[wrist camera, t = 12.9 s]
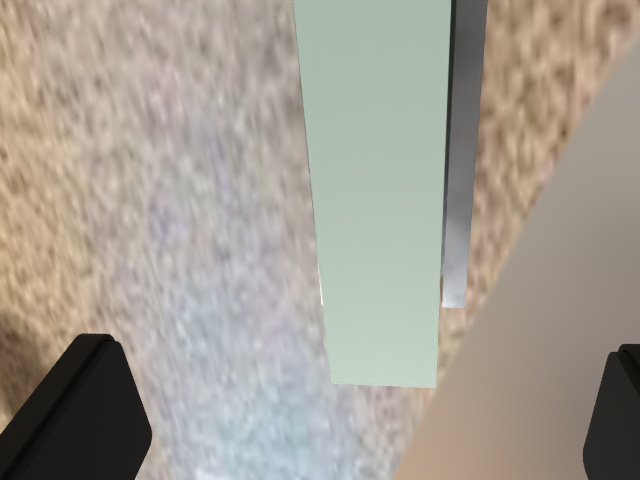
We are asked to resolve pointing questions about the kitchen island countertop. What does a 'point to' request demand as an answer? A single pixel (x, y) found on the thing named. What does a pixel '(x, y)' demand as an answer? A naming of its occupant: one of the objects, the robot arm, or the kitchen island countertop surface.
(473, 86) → the strip
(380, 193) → the door panel
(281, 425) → the kitchen island countertop surface
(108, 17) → the kitchen island countertop surface
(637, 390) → the robot arm
